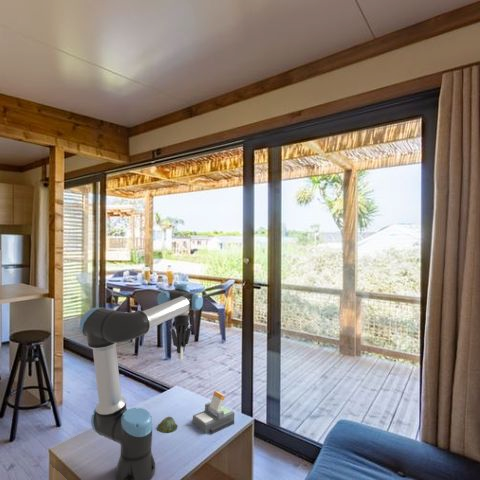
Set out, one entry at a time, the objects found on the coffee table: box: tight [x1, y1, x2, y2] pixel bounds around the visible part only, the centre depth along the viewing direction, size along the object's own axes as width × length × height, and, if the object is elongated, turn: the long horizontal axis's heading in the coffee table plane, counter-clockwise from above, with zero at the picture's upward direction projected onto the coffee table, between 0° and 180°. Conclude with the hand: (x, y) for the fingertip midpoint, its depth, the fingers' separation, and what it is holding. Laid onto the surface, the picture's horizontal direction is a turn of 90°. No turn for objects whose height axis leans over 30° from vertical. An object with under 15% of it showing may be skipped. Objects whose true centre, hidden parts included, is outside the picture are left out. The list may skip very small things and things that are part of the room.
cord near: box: [209, 419, 235, 435], centre depth 164 cm, size 14×2×2 cm, turn 133°
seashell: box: [156, 416, 178, 434], centre depth 163 cm, size 10×4×10 cm
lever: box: [208, 390, 226, 415], centre depth 170 cm, size 2×8×9 cm, turn 43°
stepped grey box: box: [192, 401, 235, 434], centre depth 169 cm, size 18×12×7 cm, turn 133°
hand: (180, 358), depth 174 cm, fingers closed
